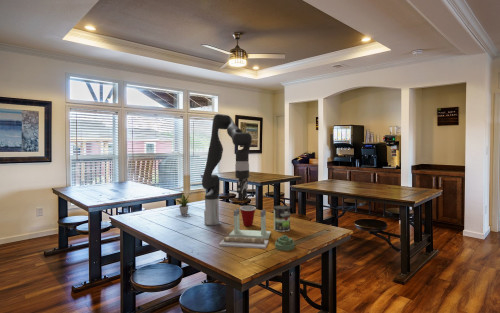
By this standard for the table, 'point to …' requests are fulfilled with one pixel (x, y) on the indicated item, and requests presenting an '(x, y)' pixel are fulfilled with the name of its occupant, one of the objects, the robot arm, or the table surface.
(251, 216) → the plastic cup
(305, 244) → the table surface
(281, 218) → the coffee can
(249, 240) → the rail
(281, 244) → the decorative artifact
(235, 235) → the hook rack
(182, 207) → the house plant
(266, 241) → the mat
